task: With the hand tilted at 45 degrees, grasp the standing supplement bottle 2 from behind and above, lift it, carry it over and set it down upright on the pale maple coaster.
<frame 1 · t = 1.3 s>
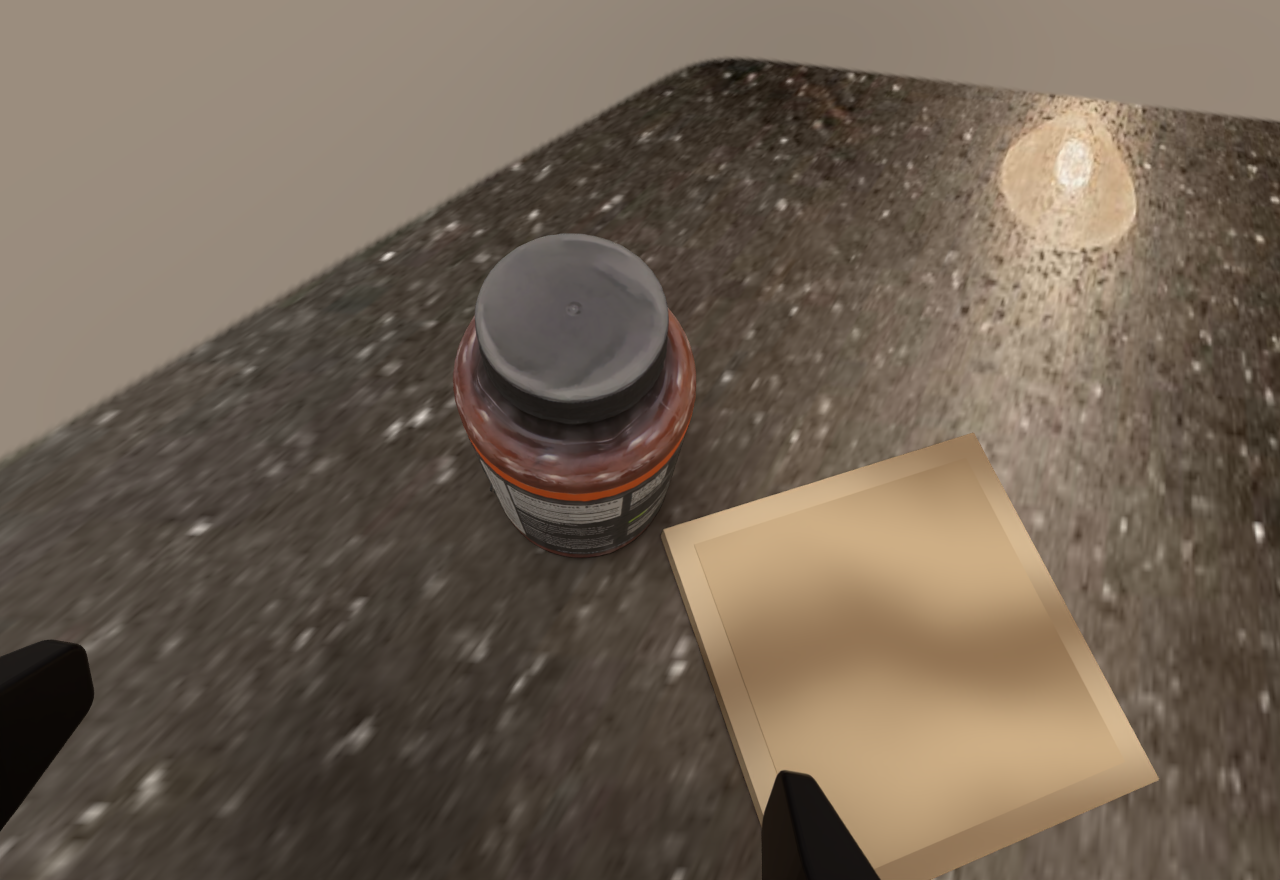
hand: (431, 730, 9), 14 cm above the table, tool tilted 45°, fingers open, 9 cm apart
supplement bottle 2: (582, 481, 25), on the table
coaster: (888, 651, 23), on the table
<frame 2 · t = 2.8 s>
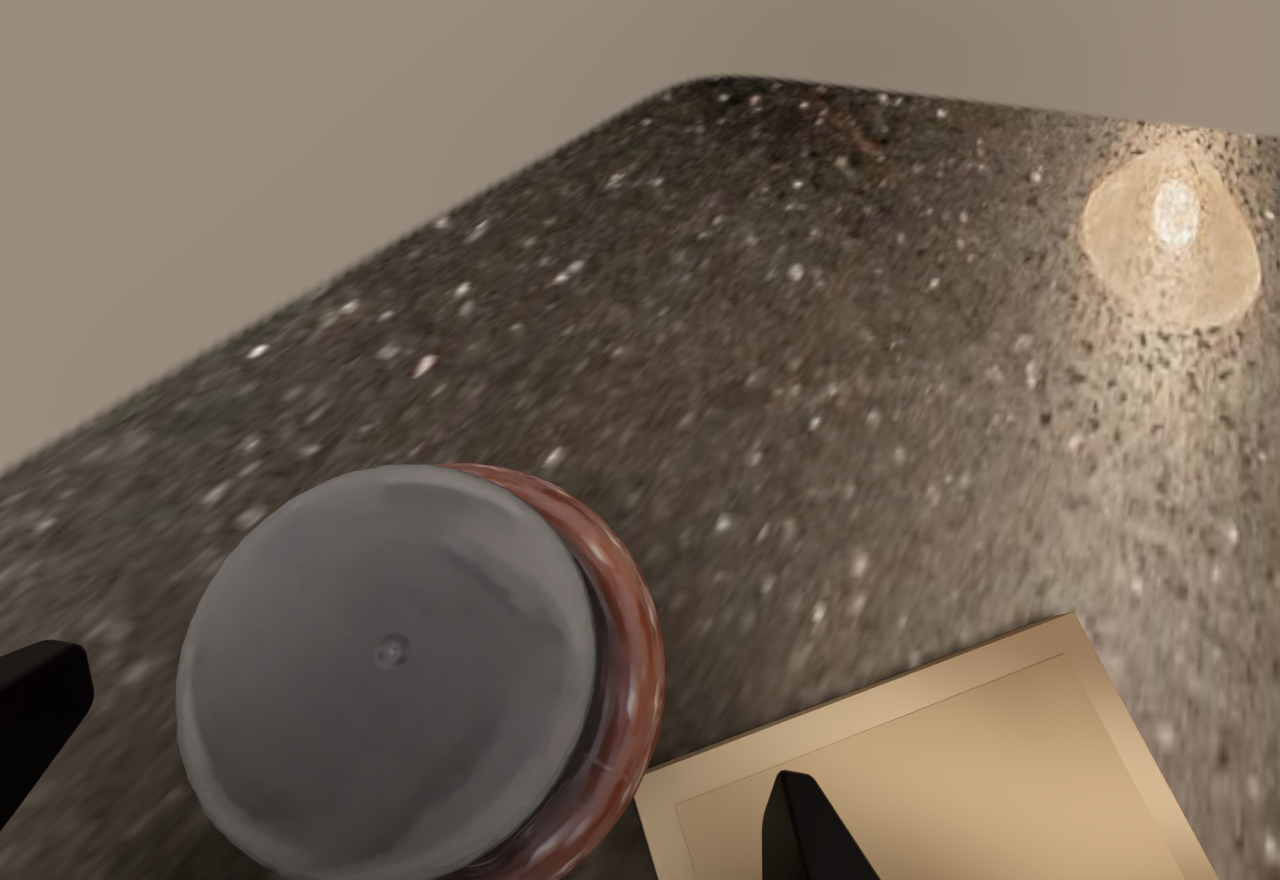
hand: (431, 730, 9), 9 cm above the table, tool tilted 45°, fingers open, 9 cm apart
supplement bottle 2: (516, 687, 17), on the table
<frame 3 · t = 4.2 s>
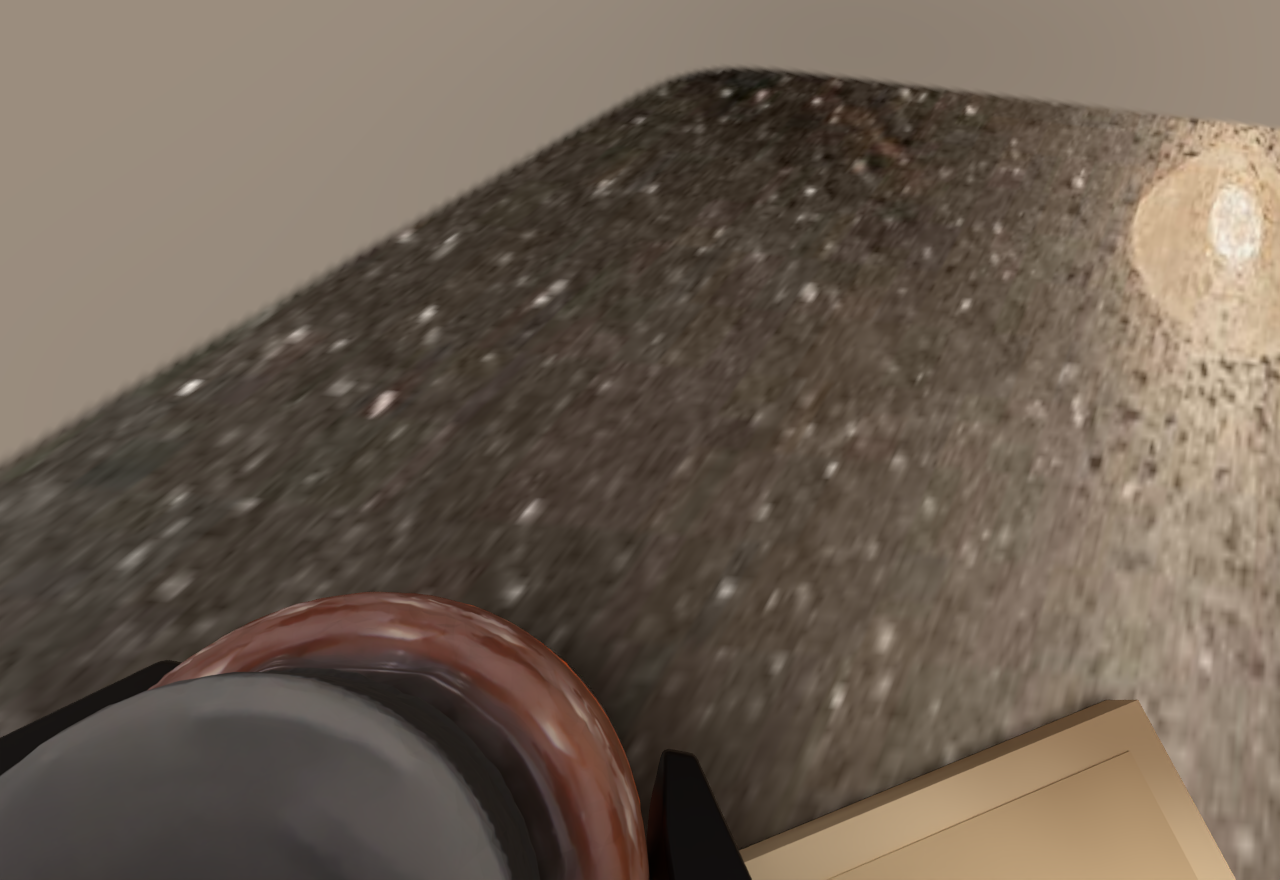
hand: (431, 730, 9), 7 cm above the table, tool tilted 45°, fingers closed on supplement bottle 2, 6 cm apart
supplement bottle 2: (483, 790, 15), on the table, touching gripper
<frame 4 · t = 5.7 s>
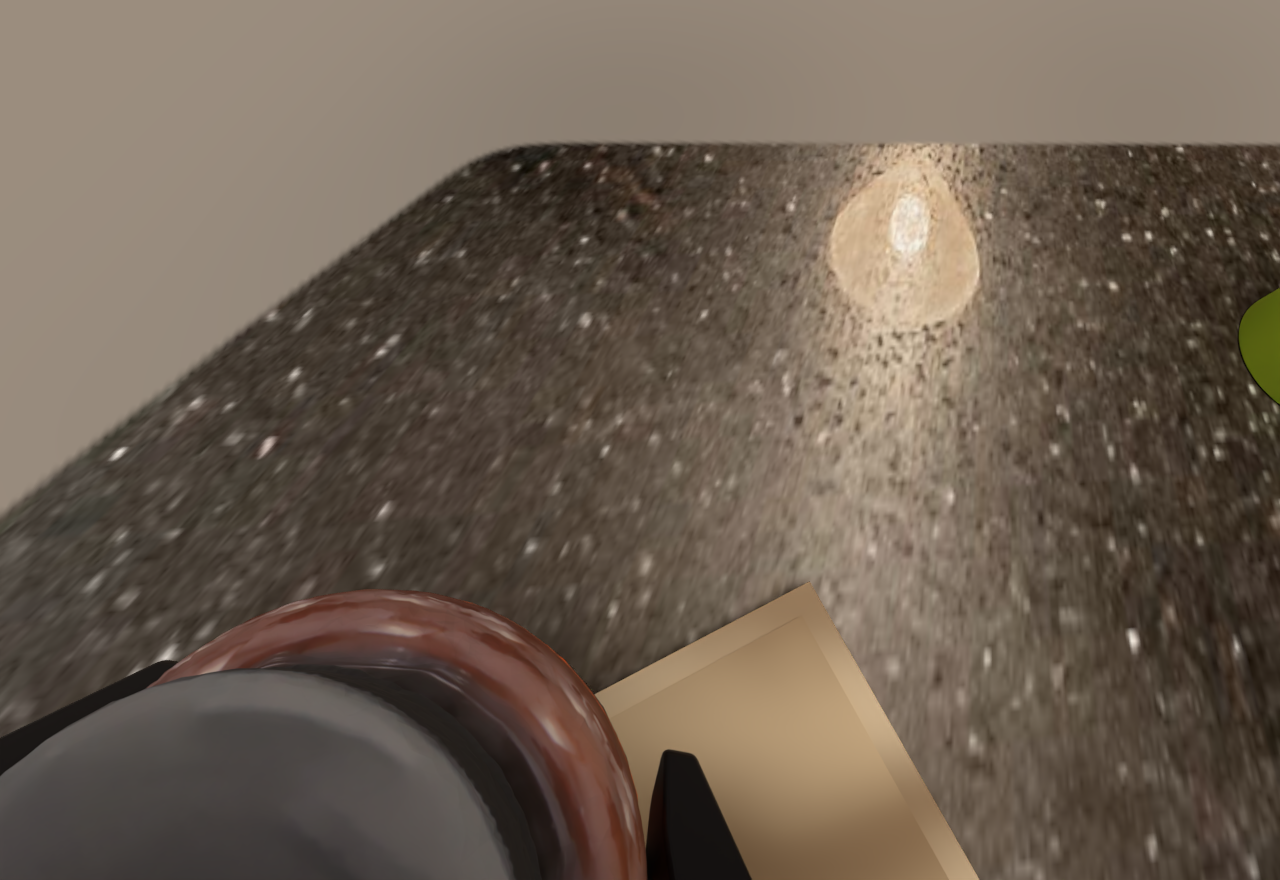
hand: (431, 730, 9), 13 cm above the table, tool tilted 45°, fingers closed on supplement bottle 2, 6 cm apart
supplement bottle 2: (480, 786, 15), point 6 cm above the table, touching gripper
coaster: (732, 864, 20), on the table
when the fingers open (9 cm above the table, at t = 7.7 s): supplement bottle 2 drops 1 cm, resting on coaster.
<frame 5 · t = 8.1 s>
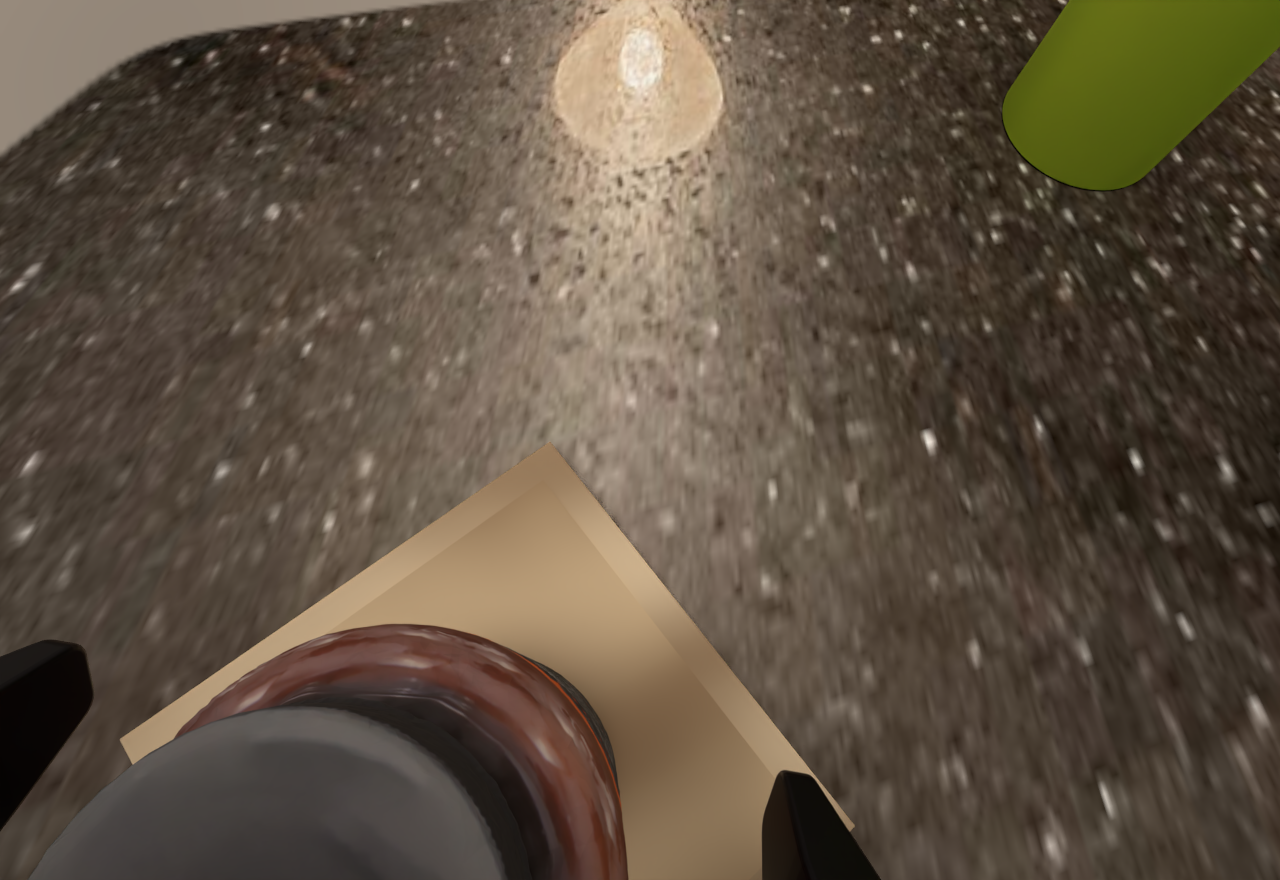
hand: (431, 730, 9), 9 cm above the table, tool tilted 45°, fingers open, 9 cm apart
supplement bottle 2: (488, 791, 16), point 1 cm above the table, touching coaster
coaster: (496, 778, 17), on the table
soap dispenser: (1086, 130, 26), on the table
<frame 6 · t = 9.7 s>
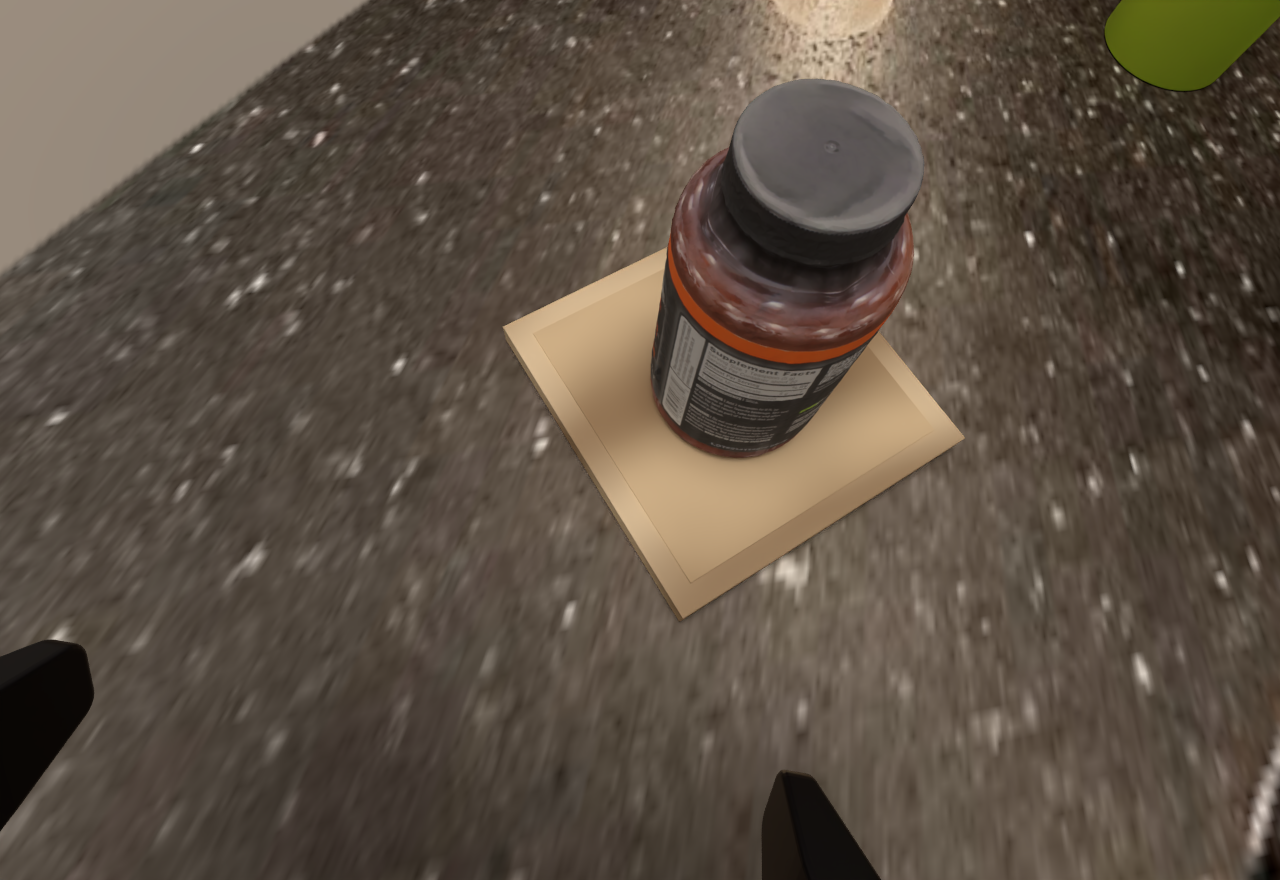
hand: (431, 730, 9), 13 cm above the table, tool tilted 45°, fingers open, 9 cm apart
supplement bottle 2: (729, 387, 25), point 1 cm above the table, touching coaster
coaster: (727, 393, 26), on the table
soap dispenser: (1169, 48, 34), on the table
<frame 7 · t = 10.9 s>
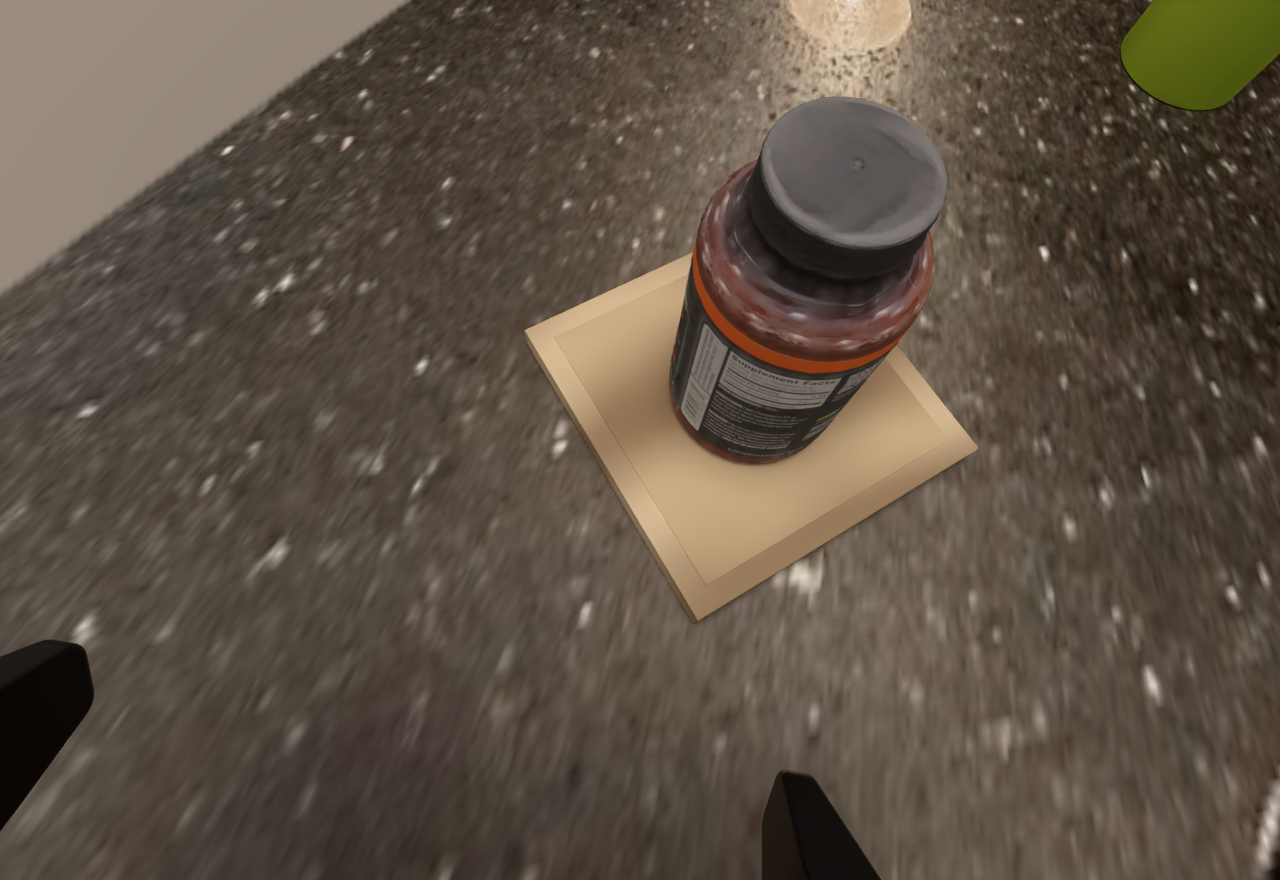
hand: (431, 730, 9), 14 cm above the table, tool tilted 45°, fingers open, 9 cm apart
supplement bottle 2: (746, 394, 25), point 1 cm above the table, touching coaster
coaster: (743, 400, 26), on the table
soap dispenser: (1184, 68, 34), on the table
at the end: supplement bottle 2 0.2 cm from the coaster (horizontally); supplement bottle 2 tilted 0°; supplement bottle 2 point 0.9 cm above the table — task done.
